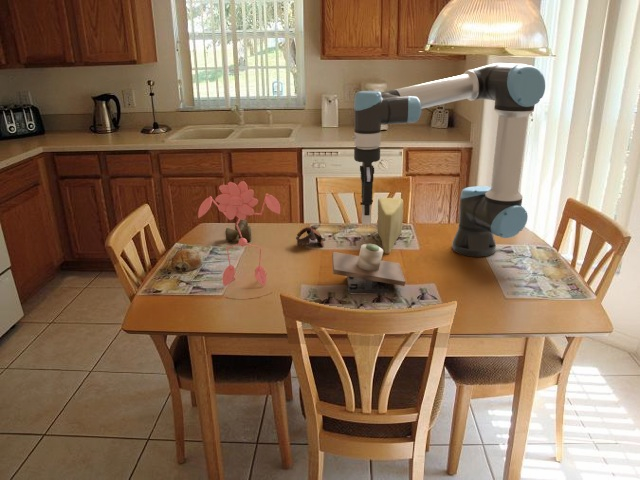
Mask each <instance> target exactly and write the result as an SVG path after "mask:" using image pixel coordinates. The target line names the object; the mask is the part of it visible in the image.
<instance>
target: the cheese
mask: <svg viewBox="0 0 640 480" xmlns="http://www.w3.org/2000/svg"><path fill="white" fill-rule="evenodd" d="M403 212H404V200H403V199H402V198H401V197H400V198H398V197H379V198H378V200H377V223H376V225H377V228H376V229H377V234H378V236H379V239H380V240H381V244H382V245H381V246H382V249H383V254H385V255H390V253H391V251H392V249H393V247H394V245H395V243H396V242H397V239H398V238H399V237H400V235H401V234H402V230H403V219H404V217H403V216H404V213H403Z"/></svg>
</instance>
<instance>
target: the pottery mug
mask: <svg viewBox="0 0 640 480" xmlns="http://www.w3.org/2000/svg"><path fill="white" fill-rule="evenodd" d="M305 233H307V235H306V236H305V237H302V238H301V236H302V235H303V234H305ZM296 235H297V236H296V237H295V239H296V245H297V246H298V247H299V246H305V245H311V241H317V243H318V242H319V243H318V244H320V245H321V248H324V246H325V243H324V240H323V237H322V234H321V233H320V232H319V231H318V230H317V229H316V227H315V226H313V225H312V226H307V227H304V228H302V229H301V230H300V231H299V232H298V233H297V234H296Z"/></svg>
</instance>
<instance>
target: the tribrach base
mask: <svg viewBox="0 0 640 480" xmlns="http://www.w3.org/2000/svg"><path fill="white" fill-rule="evenodd" d="M346 280H347V289H348V290H349V291H348V294H349V293H366V294H389V287H388V283H383V282H377V281H372V280H366V279H360V278H354V277H348V276H346Z"/></svg>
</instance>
